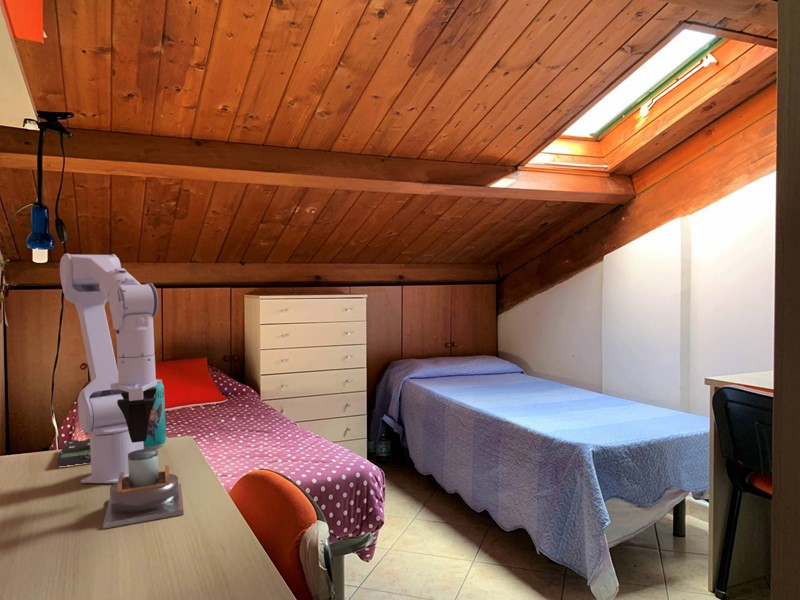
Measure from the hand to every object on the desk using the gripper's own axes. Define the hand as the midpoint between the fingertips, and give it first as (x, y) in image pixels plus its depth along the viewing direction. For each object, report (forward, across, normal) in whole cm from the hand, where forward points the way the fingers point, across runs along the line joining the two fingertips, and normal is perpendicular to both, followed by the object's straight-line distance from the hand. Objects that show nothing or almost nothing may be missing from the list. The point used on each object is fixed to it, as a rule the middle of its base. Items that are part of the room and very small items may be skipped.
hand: (139, 436), depth 95 cm
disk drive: (+11, -34, -11) cm, 37 cm away
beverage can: (+11, -34, +1) cm, 36 cm away
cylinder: (+7, +5, 0) cm, 8 cm away
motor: (+10, +5, +1) cm, 12 cm away
